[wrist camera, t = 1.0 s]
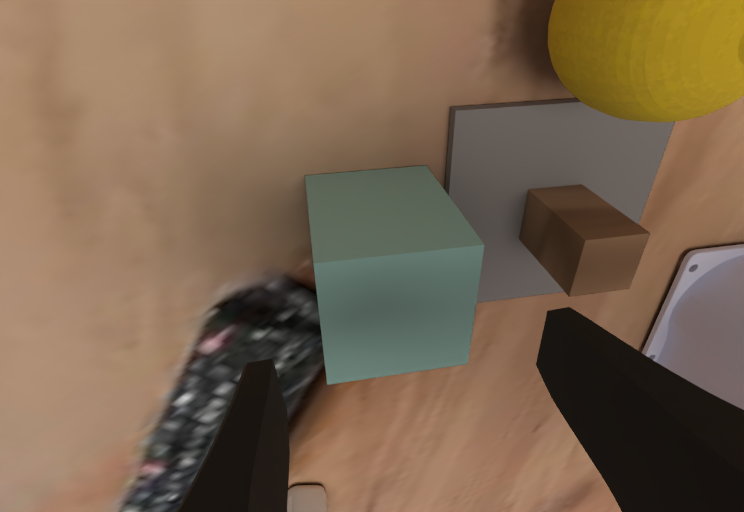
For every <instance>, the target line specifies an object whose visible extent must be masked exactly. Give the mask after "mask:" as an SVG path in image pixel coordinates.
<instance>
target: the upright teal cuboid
mask: <svg viewBox="0 0 744 512" xmlns="http://www.w3.org/2000/svg"><path fill="white" fill-rule="evenodd" d="M305 184H306V194H307V204H308V214H309V224H310V234H311V244H312V255H313V265H314V273H315V282H316V291H317V299H318V308H319V316H320V325H321V334H322V342H323V351H324V360H325V368H326V377H327V385H328V384H335V383H342V382H348V381H355V380H362V379H369V378H376V377H383V376H389V375H396V374H403V373H410V372H417V371H424V370H430V369H437V368H444V367H451V366H458V365H465V364H468V358H469V351H470V344H471V337H472V330H473V323H474V316H475V309H476V302H477V295H478V288H479V280H480V273H481V266H482V259H483V252H484V243H483V242H482V241H481V239H480V238H479V236H478V235H477V234H476V232H475V231H474V230H473V228H472V227H471V226H470V224H469V223H468V221H467V220H466V219H465V217H464V216H463V215H462V213H461V212H460V211H459V209H458V208H457V206H456V205H455V204H454V202H453V201H452V200H451V198H450V197H449V196H448V194H447V193H446V191H445V190H444V189H443V187H442V186H441V185H440V183H439V182H438V180H437V179H436V178H435V176H434V175H433V174H432V172H431V171H430V170H429V168H428V167H427V165H424V166H412V167H400V168H388V169H377V170H365V171H353V172H341V173H330V174H318V175H306V176H305Z"/></svg>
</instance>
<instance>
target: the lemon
mask: <svg viewBox="0 0 744 512" xmlns="http://www.w3.org/2000/svg"><path fill="white" fill-rule="evenodd" d="M548 49H549V53H550V58H551V62H552V65H553V67H554V69H555V71H556V73H557V75H558V77H559V79H560V81H561V82H562V84H563V85H564V86H565V87H566V88H567V89H568V90H569V91H570V92H571V93H572V94H573V95H574V96H575V97H577V98H578V99H579V100H580V101H581V102H582V103H584V104H585V105H587V106H589V107H591V108H593V109H595V110H598V111H600V112H602V113H605V114H607V115H610V116H613V117H615V118H620V119H625V120H632V121H644V122H659V123H662V122H675V121H681V120H686V119H691V118H696V117H700V116H703V115H706V114H709V113H711V112H714V111H716V110H718V109H721V108H723V107H725V106H727V105H729V104H731V103H733V102H734V101H736V100H737V99H739V98H740V97H742V96H743V95H744V0H555V1H554V3H553V7H552V11H551V15H550V19H549V23H548Z"/></svg>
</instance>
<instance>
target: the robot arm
mask: <svg viewBox="0 0 744 512" xmlns="http://www.w3.org/2000/svg"><path fill="white" fill-rule="evenodd" d="M536 365H537V368H538V370H539V372H540V374H541V376H542V378H543V381H544V383H545V385H546V387H547V389H548V391H549V393H550V395H551V397H552V399H553V401H554V402H555V404H556V406H557V407H558V409H559V410H560V412H561V413H562V415H563V417H564V418H565V420H566V421H567V423H568V424H569V426H570V428H571V429H572V431H573V432H574V434H575V435H576V437H577V438H578V440H579V441H580V443H581V445H582V446H583V448H584V449H585V451H586V452H587V454H588V455H589V457H590V458H591V460H592V462H593V463H594V465H595V466H596V468H597V469H598V471H599V472H600V474H601V475H602V477H603V479H604V480H605V482H606V484H607V485H608V487H609V489H610V490H611V492H612V494H613V495H614V497H615V499H616V501H617V503H618V505H619V507H620V509H621V511H622V512H744V244H739V245H731V246H722V247H714V248H706V249H697V250H693V251H690V252H689V253H688V254H686V256H685V257H684V259H683V261H682V264H681V266H680V268H679V270H678V273H677V275H676V277H675V279H674V282H673V284H672V286H671V288H670V290H669V293H668V295H667V297H666V299H665V302H664V304H663V306H662V308H661V311H660V313H659V315H658V317H657V320H656V322H655V324H654V326H653V329H652V331H651V333H650V335H649V337H648V340H647V342H646V344H645V346H644V349H643V351H642V353H641V352H639V351H637V350H636V349H634V348H633V347H631V346H630V345H628V344H626V343H625V342H623V341H622V340H620V339H619V338H617V337H616V336H614V335H612V334H611V333H609V332H608V331H606V330H605V329H603V328H602V327H600V326H599V325H597V324H595V323H594V322H592V321H591V320H589V319H588V318H586V317H585V316H583V315H581V314H580V313H578V312H577V311H575V310H573V309H572V308H570V307H567V308H561V309H556V310H550V311H547V316H546V321H545V325H544V330H543V335H542V339H541V344H540V349H539V353H538V358H537V363H536ZM288 477H289V434H288V419H287V409H286V406H285V402H284V398H283V395H282V391H281V387H280V384H279V380H278V376H277V373H276V369H275V365H274V362H273V359H268V360H262V361H257V362H251V363H247V364H246V365H245V367H244V369H243V372H242V375H241V378H240V380H239V383H238V386H237V389H236V391H235V394H234V396H233V399H232V401H231V404H230V406H229V408H228V411H227V413H226V416H225V418H224V420H223V422H222V424H221V426H220V429H219V431H218V433H217V435H216V437H215V440H214V442H213V444H212V446H211V448H210V450H209V452H208V454H207V456H206V458H205V460H204V462H203V464H202V466H201V468H200V469H199V471H198V473H197V475H196V477H195V479H194V481H193V483H192V485H191V487H190V489H189V490H188V492H187V494H186V496H185V497H184V499H183V501H182V503H181V505H180V506H179V508H178V510H177V511H176V512H287V500H288Z"/></svg>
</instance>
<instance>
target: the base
mask: <svg viewBox="0 0 744 512" xmlns="http://www.w3.org/2000/svg"><path fill="white" fill-rule="evenodd" d="M674 124H675V122H662V123H659V122H644V121H632V120H625V119H620V118H615V117H613V116H610V115H607V114H605V113H602V112H600V111H598V110H595V109H593V108H591V107H589V106H587V105H585V104H584V103H582V102H581V101H580V100H579V99H578V98H573V99H558V100H544V101H529V102H514V103H499V104H485V105H470V106H455V107H451V112H450V125H449V138H448V152H447V165H446V178H445V191H446V193H447V194H448V196H449V197H450V198H451V200H452V201H453V202H454V204H455V205H456V206H457V208H458V209H459V211H460V212H461V213H462V215H463V216H464V217H465V219H466V220H467V221H468V223H469V224H470V226H471V227H472V228H473V230H474V231H475V232H476V234H477V235H478V236H479V238H480V239H481V241H482V242H483V243H484V252H483V259H482V266H481V273H480V280H479V288H478V295H477V302H476V303H481V302H488V301H496V300H504V299H512V298H520V297H527V296H535V295H543V294H551V293H559V292H565V291H564V290H563V289H562V288H561V287H560V286H559V284H558V283H557V282H556V281H555V280H554V279H553V278H552V276H551V275H550V274H549V273H548V272H547V271H546V270H545V268H544V267H543V266H542V265H541V264H540V263H539V262H538V260H537V259H536V258H535V257H534V256H533V255H532V254H531V252H530V251H529V250H528V249H527V248H526V247H525V246H524V244H523V243H522V242H521V241H520V240H519V235H520V230H521V224H522V219H523V214H524V209H525V203H526V198H527V193H528V189H537V188H547V187H558V186H568V185H579V184H582V185H584V186H585V187H586V188H588V189H589V190H591V191H592V192H593V193H595V194H596V195H598V196H599V197H600V198H602V199H603V200H605V201H606V202H607V203H609V204H610V205H612V206H613V207H614V208H616V209H617V210H619V211H620V212H621V213H623V214H624V215H626V216H627V217H628V218H630V219H631V220H633V221H634V222H635V223H637V224H639V221H640V218H641V215H642V213H643V210H644V207H645V204H646V201H647V199H648V196H649V193H650V190H651V188H652V185H653V182H654V179H655V176H656V174H657V171H658V168H659V165H660V162H661V160H662V157H663V154H664V151H665V149H666V146H667V143H668V140H669V137H670V135H671V132H672V129H673V126H674Z"/></svg>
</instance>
